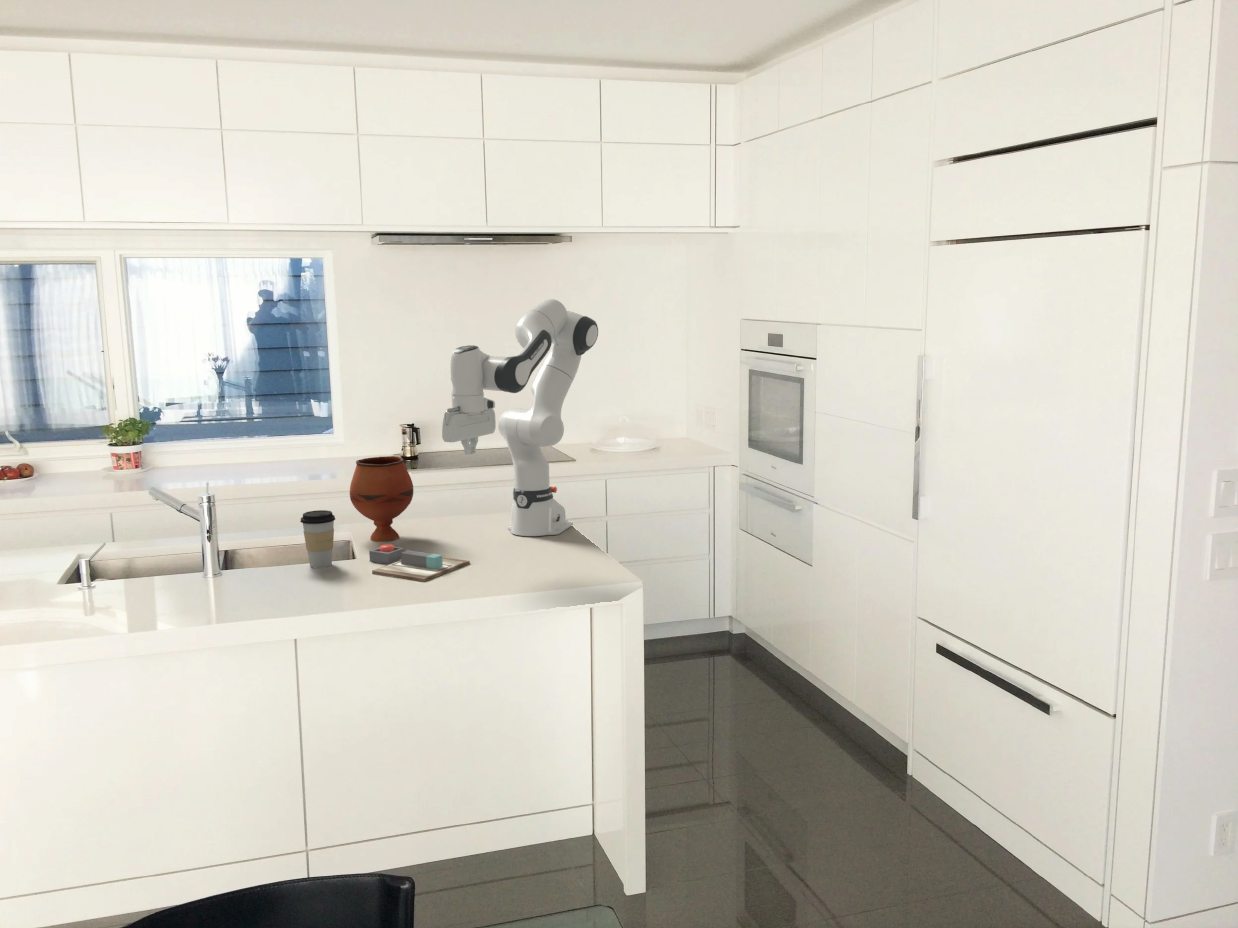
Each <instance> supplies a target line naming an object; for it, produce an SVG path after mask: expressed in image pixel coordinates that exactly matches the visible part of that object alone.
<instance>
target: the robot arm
mask: <svg viewBox="0 0 1238 928" xmlns="http://www.w3.org/2000/svg"><path fill="white" fill-rule="evenodd" d="M514 334H515V338H516V341H517V342H518V344H519V345H520V347H521V348H523V349H522V350H521V351H520V353H519V354H517V355H514V356H494V355H492V356H491V355H489V354H486V353H484V352H483V351H482V350H481V348H480V347H479V346H478V345H474V344H473V345H470V344H469V345H463V346H459V347H457V348H455V349H453V351H452V353H451V356H450V357H451V358H450V381H451V384H452V390H451V407H448V408H447V409H446V411H445V413H444V415H443V419H442V427H441V430H442V431H441V434H442V435H441V437H442V440H443V442H444V443H457V442H460V443H461V445H462V447H463V448H464V449H463V450H464V451H463V452H464V455H469V456H470V455H473V454H475V453H477V444H478V442H479V437H482V436H487V435H490V434H491V435H493V434H494V433H495V431H496V413H495V410H494V409H495V407H496V402H495V400H493V399H489V398H487V397H484V396H485V394H484V391H494V392H495V391H496V392H505V393H511V394H517V393H521V391H522V390H524V388H526V386H527V384H528V382H529V380H530V378H531V376H532V375H533V372H534V371H535V370H536V368H537V367H538V366H539V365H540V363H541V362H542V360H543V359H544V358H545V359H544V360H543V362H542V364H541V366H540V368H539V369H538V370H539V371H538V372H537V374H536V376H535V379H534V380H533V382H532V384H531V387H530V390H531V393H532V395H533V401H532V405H531V407H530V408H522V407H520V408H519V407H517V408H512V409H507V410H505V411H504V412H503V413H502V414H501V415H500V416H499V418H498V419H499V420H498V425H497V426H498V427H497V428H498V431H499V433H500V435H501V436H502V438H503V439H504V440H505V441H506V444H507V447H508V450H509V453H510V456H511V461H512V465H513V474H514V475H513V479H514V481H513V482H514V488H513V491H512V498H513V499H512V500H514V501H513V503H512V504H511V510H510V512H511V513H510V524H509V525H507V529H508V530H509V531H510V533H511V534H513V535H515V536H523V537H540V536H542V537H543V536H553V535H554V536H555V535H559V534H561V533H563V532H564V531H566V530H568V529H569V528H570V527H572V526H573V525H574V522H573V521H572V520H569V519H567V518H566V517H567V516H566V509H565V507H564V506H563V505H562V504H561V503H560V502H558V501H557V499H555V498H554V494H553V493H555V494H556V493H557V491H558V487H557V486H552V485H551V486H550V464H549V461H548V460H547V458H546V457H545V456H544V454H543V452H542V450H541V447H549V446H551V447H552V446H555V445H557V444H559V443H560V441H561V440H562V439H563V436H564V433H565V432H564V431H565V426H564V421H562V408H563V404H564V401H565V398H566V396H567V395H568V392H569V390H570V388H571V385H572V383H573V382H574V380H575V377H576V374H577V372H578V369H579V366H580V363H581V360H582V359H581V358H582V355H584V354H585V353H586V352H589V350H590V349H592V347H594V345H595V344H596V342H597V339H598V336H599V326H598V324H597V322H596V320H594V319H592V318H591V317H589V316H587V315H582V314H579V313H576V312H573V311H570V310H567V308H566V307H565V305H564V304H563V303H562V301H561V302H560V301H559V300H557V299H554V298H551V299H549V298H548V299H546V300H544V301H542V302H539V303H538V304H537V305H535V306H533V307H532V308H531V309H529V310H528V311H527V312H526V313H524V314H523V316H521V317H520V319H519V320H518V321H517V323H516V324H515V328H514ZM552 344H553V347H552V349H551V346H552ZM550 349H551V350H550Z"/></svg>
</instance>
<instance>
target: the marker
mask: <svg viewBox="0 0 1238 928" xmlns="http://www.w3.org/2000/svg"><path fill="white" fill-rule="evenodd" d="M442 557H443V555H442V554H437V553H428V552H423V551H415V550H409V549H407V550H405V552H402V553H401V564H404V565H410V566H417V567H424V568H430V569H437V568H440V567H443V563H442Z"/></svg>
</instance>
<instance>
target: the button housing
mask: <svg viewBox="0 0 1238 928" xmlns="http://www.w3.org/2000/svg"><path fill="white" fill-rule="evenodd" d="M405 551H406V550H405V547H400V546H394V551H391V552H388V553H387V552H380V547H377V548H374V549H371V550H369V551H368V553H369V554H368V555H369V562H372V563H373V562H374V563H379V564H386V565H389V564H392V563H395V562H398V561H400V560H401V553H402V552H405Z"/></svg>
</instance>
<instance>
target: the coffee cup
mask: <svg viewBox="0 0 1238 928" xmlns="http://www.w3.org/2000/svg"><path fill="white" fill-rule="evenodd" d="M335 520H336V517H335V515H334V514H333V512H332V510H321V509H319V510H310V511H306V512H303V513H302V517H301V518H300V523H301V524H302V526H303V536H304V543H305V548H306V551H307V556H308V561H309V566H310V568H315V569H321V568H322V569H323V568H328V567H331V566H332V564H333V549H334V539H335V537H334V535H335V527H334V526H335V525H334V523H335V522H334V521H335Z"/></svg>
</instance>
